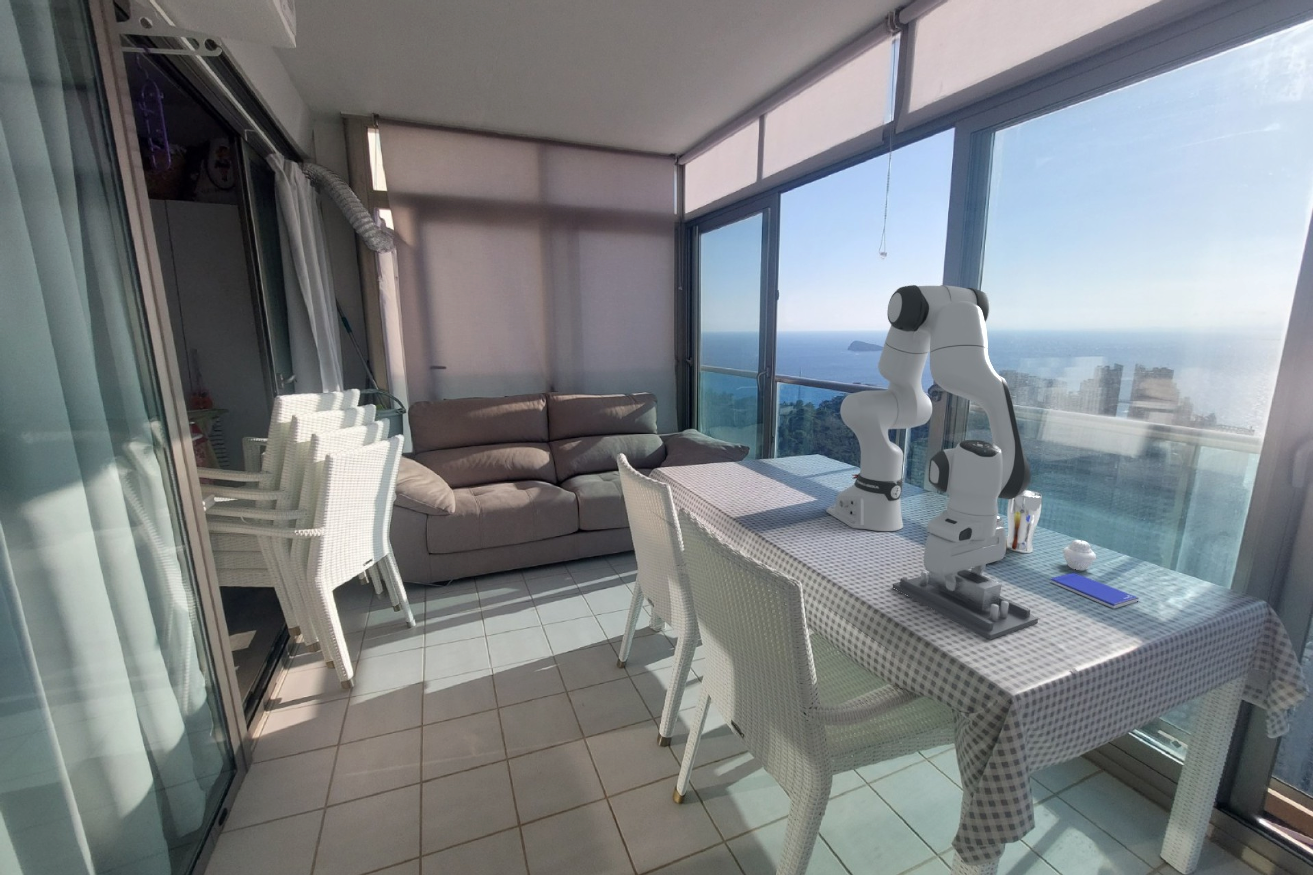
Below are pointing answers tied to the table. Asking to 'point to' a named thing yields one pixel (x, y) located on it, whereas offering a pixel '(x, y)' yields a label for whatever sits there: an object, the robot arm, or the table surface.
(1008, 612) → the tray
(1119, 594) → the hard drive
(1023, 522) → the beer glass
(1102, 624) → the table surface
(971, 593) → the block
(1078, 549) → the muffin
